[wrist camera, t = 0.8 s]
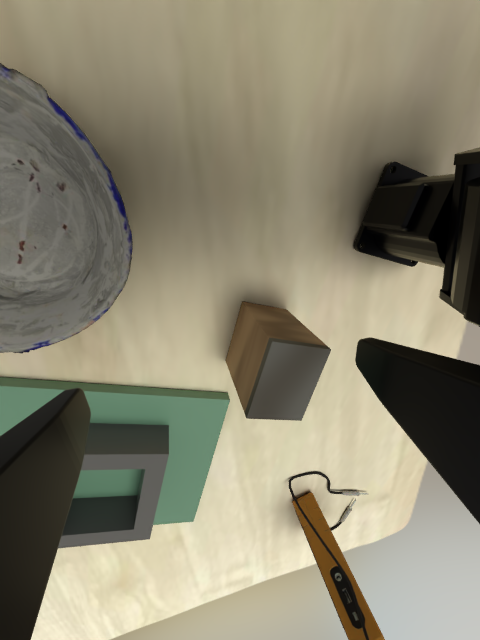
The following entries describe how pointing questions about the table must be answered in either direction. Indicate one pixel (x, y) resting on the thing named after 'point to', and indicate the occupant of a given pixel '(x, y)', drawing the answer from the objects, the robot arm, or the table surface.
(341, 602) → the multimeter
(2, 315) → the bowl
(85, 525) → the board
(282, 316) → the plug
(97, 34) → the table surface
